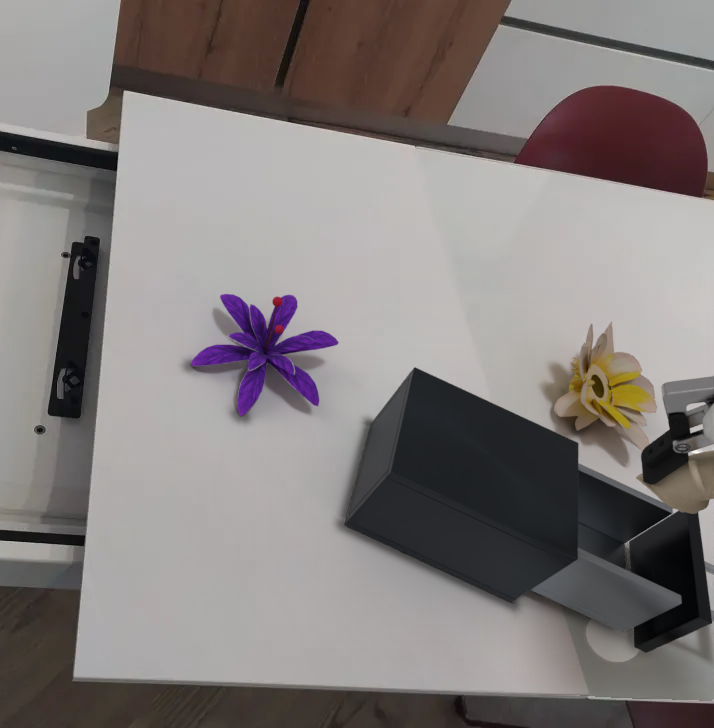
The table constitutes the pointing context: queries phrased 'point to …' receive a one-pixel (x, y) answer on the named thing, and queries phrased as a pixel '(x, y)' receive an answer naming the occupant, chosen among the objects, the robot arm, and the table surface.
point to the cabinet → (468, 488)
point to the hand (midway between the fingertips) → (685, 485)
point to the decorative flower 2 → (608, 390)
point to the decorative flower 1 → (265, 348)
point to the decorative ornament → (687, 484)
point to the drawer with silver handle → (634, 565)
